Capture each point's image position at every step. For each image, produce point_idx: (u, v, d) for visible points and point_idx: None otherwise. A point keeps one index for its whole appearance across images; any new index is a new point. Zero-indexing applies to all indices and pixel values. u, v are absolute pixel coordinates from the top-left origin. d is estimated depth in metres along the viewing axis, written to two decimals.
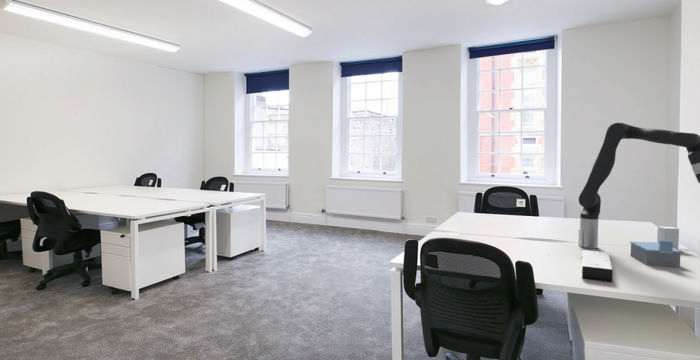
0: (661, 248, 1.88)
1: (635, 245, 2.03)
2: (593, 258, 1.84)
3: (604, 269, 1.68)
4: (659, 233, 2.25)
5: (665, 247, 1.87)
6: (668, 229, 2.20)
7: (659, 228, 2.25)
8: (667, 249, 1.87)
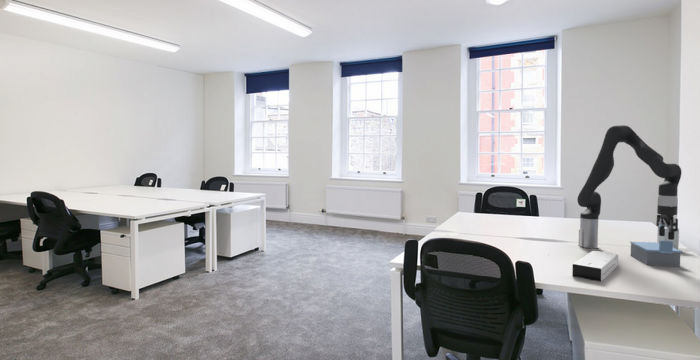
0: (661, 248, 1.88)
1: (635, 245, 2.03)
2: (593, 258, 1.84)
3: (593, 268, 1.69)
4: None
5: (665, 247, 1.87)
6: None
7: None
8: (667, 249, 1.87)
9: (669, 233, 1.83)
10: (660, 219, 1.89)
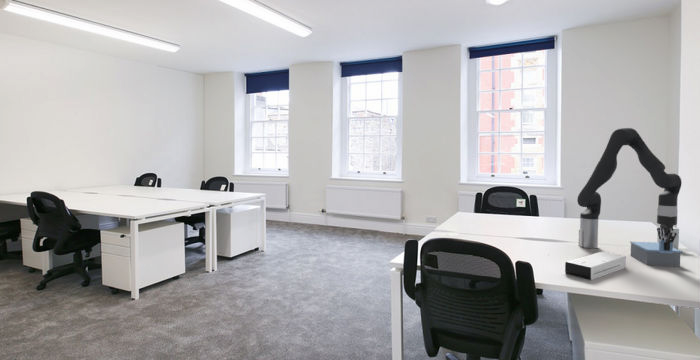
0: (661, 248, 1.88)
1: (635, 245, 2.03)
2: (593, 258, 1.84)
3: (584, 266, 1.72)
4: None
5: None
6: None
7: None
8: None
9: (665, 244, 1.87)
10: (660, 229, 1.89)
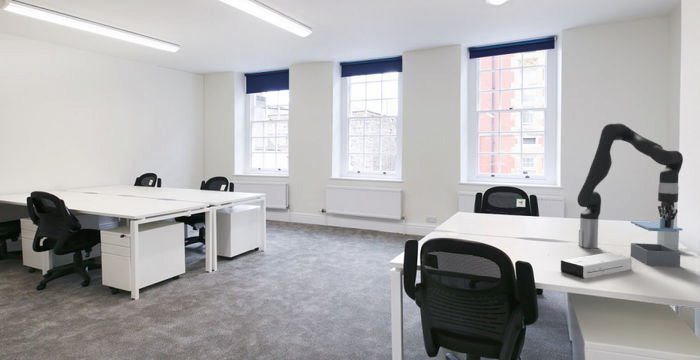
0: (662, 226, 1.87)
1: (636, 224, 2.02)
2: (594, 258, 1.84)
3: (577, 265, 1.74)
4: (659, 233, 2.25)
5: None
6: None
7: None
8: None
9: (666, 221, 1.86)
10: (661, 207, 1.88)
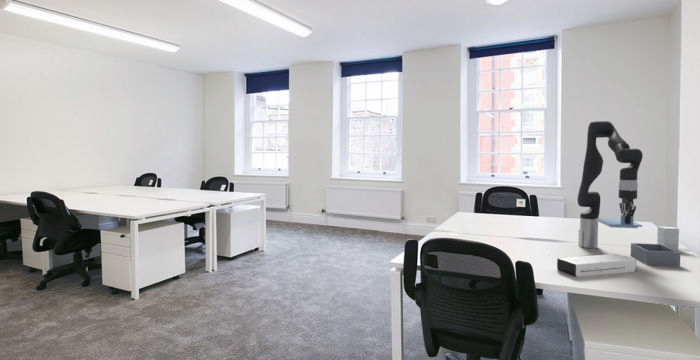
0: (622, 222, 1.91)
1: (599, 221, 2.07)
2: (594, 258, 1.84)
3: (570, 263, 1.77)
4: (659, 233, 2.25)
5: None
6: (668, 229, 2.20)
7: (659, 228, 2.25)
8: (628, 224, 1.91)
9: (626, 218, 1.90)
10: (621, 203, 1.93)
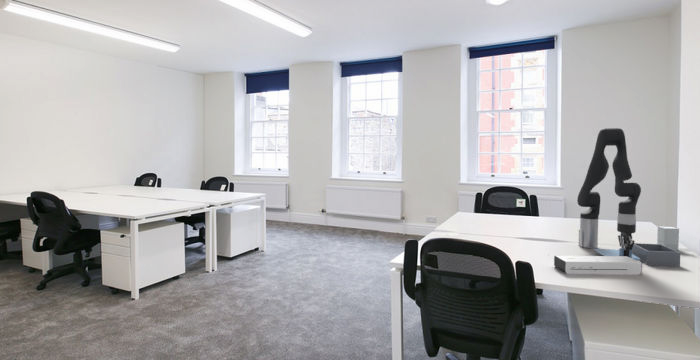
0: None
1: (598, 252, 2.08)
2: (595, 258, 1.84)
3: (562, 260, 1.82)
4: (659, 233, 2.25)
5: None
6: (668, 229, 2.20)
7: (659, 228, 2.25)
8: None
9: (624, 251, 1.91)
10: (620, 237, 1.94)
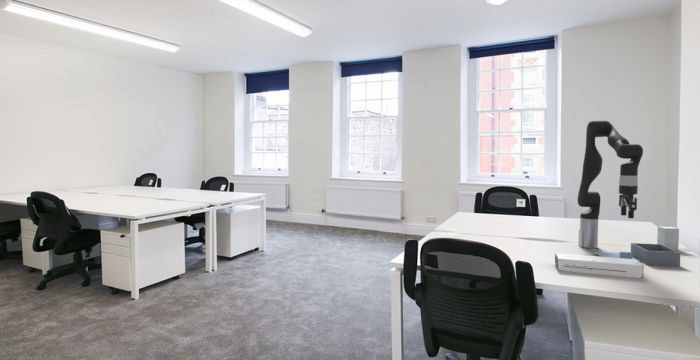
0: None
1: (599, 255, 2.07)
2: (595, 258, 1.84)
3: (557, 257, 1.87)
4: (659, 233, 2.25)
5: (625, 258, 1.91)
6: (668, 229, 2.20)
7: (659, 228, 2.25)
8: None
9: (629, 212, 1.88)
10: (621, 199, 1.94)
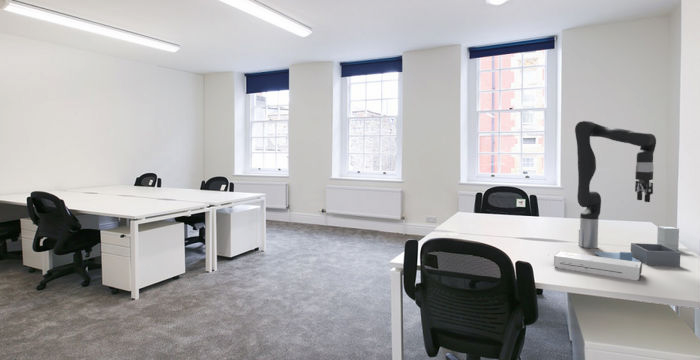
0: (621, 259, 1.92)
1: None
2: (596, 258, 1.84)
3: (556, 255, 1.92)
4: (659, 233, 2.25)
5: (625, 258, 1.91)
6: (668, 229, 2.20)
7: (659, 228, 2.25)
8: None
9: (645, 196, 2.02)
10: (638, 184, 2.08)
